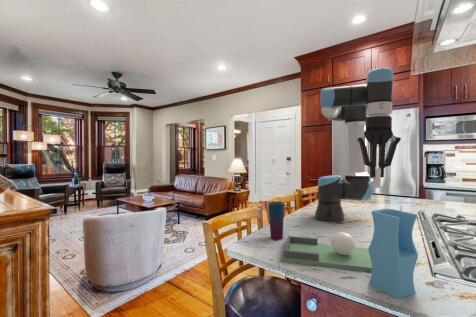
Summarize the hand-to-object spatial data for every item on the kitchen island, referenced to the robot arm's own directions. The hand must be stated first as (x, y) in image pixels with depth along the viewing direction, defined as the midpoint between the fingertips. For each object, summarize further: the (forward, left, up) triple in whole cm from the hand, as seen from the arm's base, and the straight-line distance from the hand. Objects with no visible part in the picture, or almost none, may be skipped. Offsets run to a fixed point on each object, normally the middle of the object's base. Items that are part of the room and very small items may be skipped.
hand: (376, 187), depth 80 cm
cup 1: (+22, -30, -24) cm, 44 cm away
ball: (+10, -4, -19) cm, 22 cm away
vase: (+12, +14, -24) cm, 31 cm away
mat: (+13, -6, -24) cm, 28 cm away
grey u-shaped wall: (+21, -12, -23) cm, 33 cm away
